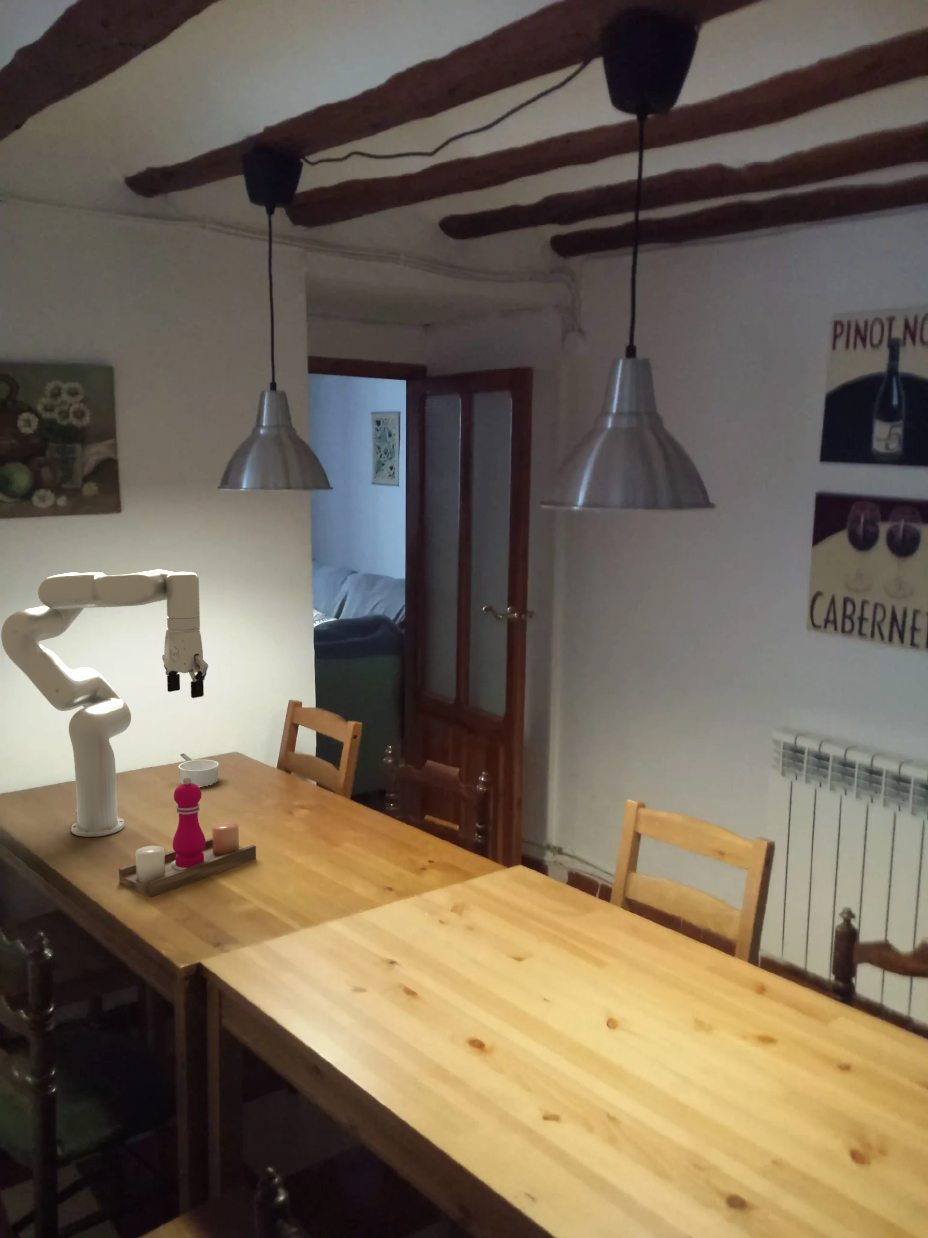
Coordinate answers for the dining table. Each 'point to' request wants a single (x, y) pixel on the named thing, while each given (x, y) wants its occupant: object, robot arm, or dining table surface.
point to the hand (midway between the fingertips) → (185, 693)
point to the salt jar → (150, 863)
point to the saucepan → (199, 771)
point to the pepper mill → (188, 826)
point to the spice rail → (186, 870)
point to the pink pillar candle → (225, 838)
